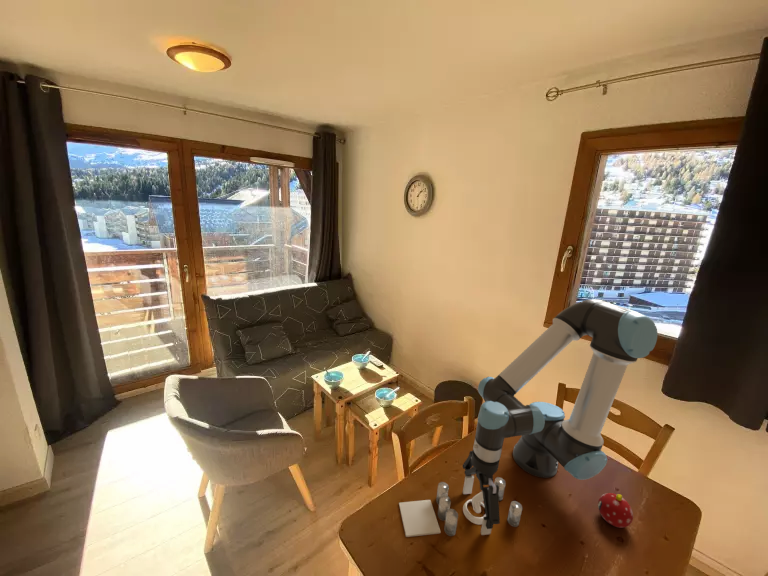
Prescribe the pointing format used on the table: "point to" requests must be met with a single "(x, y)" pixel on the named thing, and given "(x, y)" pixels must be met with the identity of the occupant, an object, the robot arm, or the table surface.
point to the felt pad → (419, 518)
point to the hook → (474, 508)
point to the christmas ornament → (615, 510)
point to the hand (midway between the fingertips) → (475, 511)
